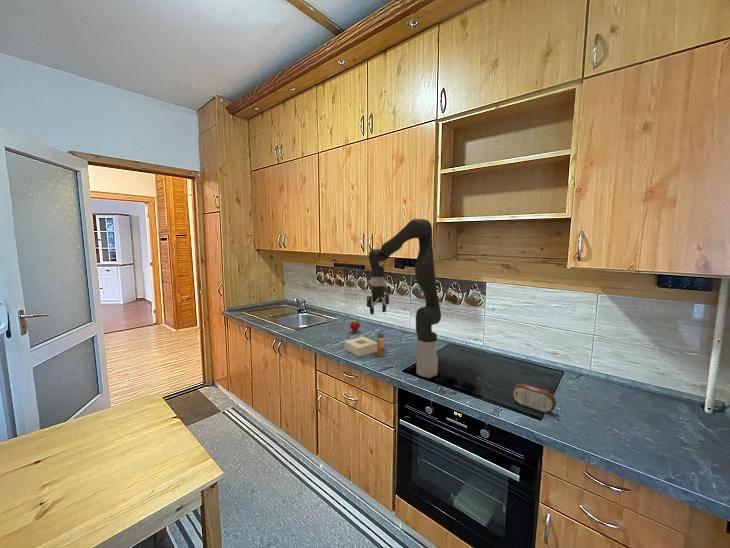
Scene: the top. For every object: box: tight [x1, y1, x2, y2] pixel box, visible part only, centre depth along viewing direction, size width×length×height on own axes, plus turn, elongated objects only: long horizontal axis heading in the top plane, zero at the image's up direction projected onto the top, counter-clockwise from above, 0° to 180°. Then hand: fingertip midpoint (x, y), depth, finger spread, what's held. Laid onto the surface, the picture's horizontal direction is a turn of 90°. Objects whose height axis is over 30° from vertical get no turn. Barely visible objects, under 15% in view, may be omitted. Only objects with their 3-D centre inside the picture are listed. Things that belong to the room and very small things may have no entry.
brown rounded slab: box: [511, 383, 557, 414], centre depth 117 cm, size 15×3×8 cm, turn 48°
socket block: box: [344, 336, 377, 358], centre depth 176 cm, size 14×14×5 cm
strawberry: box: [349, 320, 361, 333], centre depth 208 cm, size 6×8×10 cm
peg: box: [376, 333, 385, 358], centre depth 168 cm, size 4×4×12 cm
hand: (378, 313), depth 170 cm, fingers open, 8 cm apart
